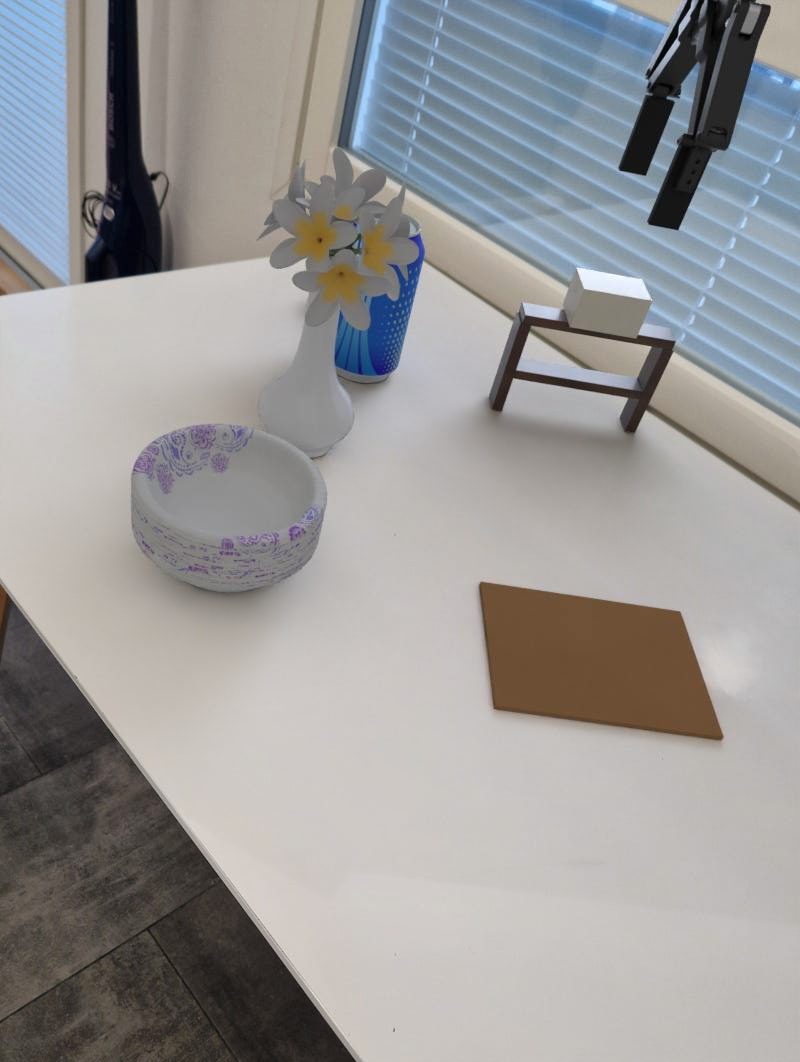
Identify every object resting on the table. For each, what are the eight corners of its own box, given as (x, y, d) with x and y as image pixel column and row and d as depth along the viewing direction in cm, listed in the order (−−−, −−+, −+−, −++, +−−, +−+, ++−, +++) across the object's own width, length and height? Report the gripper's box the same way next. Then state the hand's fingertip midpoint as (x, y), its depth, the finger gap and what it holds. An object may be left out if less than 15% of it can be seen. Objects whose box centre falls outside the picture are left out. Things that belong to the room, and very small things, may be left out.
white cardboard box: (626, 316, 94) (642, 279, 91) (636, 338, 91) (652, 301, 88) (562, 304, 94) (576, 267, 91) (569, 327, 90) (584, 288, 87)
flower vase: (257, 504, 80) (295, 219, 62) (227, 392, 92) (251, 126, 74) (394, 502, 84) (467, 232, 66) (348, 394, 96) (399, 141, 78)
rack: (629, 418, 102) (671, 328, 94) (634, 433, 100) (678, 341, 92) (489, 395, 100) (519, 301, 93) (491, 409, 98) (523, 314, 90)
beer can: (341, 339, 104) (367, 196, 93) (407, 365, 102) (442, 222, 91) (309, 368, 98) (333, 219, 87) (378, 395, 96) (412, 247, 85)
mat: (678, 614, 79) (680, 611, 78) (721, 740, 69) (724, 737, 69) (479, 584, 77) (480, 581, 77) (494, 709, 67) (495, 705, 67)
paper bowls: (252, 647, 68) (264, 570, 62) (91, 563, 72) (88, 482, 66) (345, 546, 78) (362, 471, 72) (199, 476, 82) (205, 399, 76)
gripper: (677, -121, 77) (585, 145, 92) (765, -76, 59) (634, 244, 74) (760, -103, 77) (655, 159, 93) (871, -53, 60) (720, 260, 75)
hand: (646, 198), depth 84 cm, fingers open, 13 cm apart
